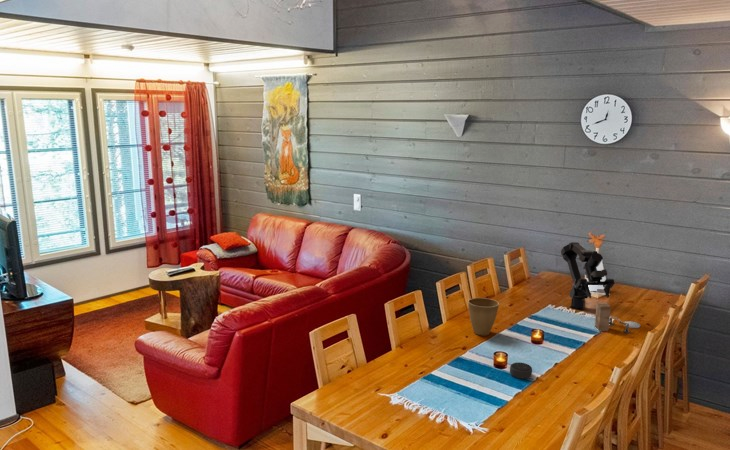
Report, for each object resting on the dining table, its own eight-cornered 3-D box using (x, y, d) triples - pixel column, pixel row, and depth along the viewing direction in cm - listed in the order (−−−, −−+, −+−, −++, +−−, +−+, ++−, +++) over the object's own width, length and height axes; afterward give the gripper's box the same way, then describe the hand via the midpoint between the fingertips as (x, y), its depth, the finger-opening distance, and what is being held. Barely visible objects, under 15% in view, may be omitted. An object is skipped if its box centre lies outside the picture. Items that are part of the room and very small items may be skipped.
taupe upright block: (594, 327, 303) (596, 303, 300) (604, 327, 303) (606, 303, 300) (598, 330, 298) (600, 306, 295) (608, 330, 298) (610, 306, 295)
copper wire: (606, 323, 308) (607, 315, 307) (611, 323, 309) (612, 314, 308) (625, 333, 295) (626, 324, 294) (631, 332, 296) (631, 324, 295)
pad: (620, 325, 306) (620, 323, 306) (626, 321, 312) (626, 320, 311) (636, 329, 300) (636, 327, 300) (642, 325, 306) (642, 324, 306)
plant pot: (497, 339, 285) (499, 307, 282) (466, 337, 287) (467, 305, 284) (497, 328, 299) (498, 298, 296) (467, 326, 302) (468, 296, 299)
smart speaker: (515, 368, 253) (515, 359, 252) (535, 374, 247) (535, 365, 246) (505, 375, 246) (506, 366, 245) (526, 381, 240) (526, 372, 240)
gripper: (579, 263, 307) (587, 289, 298) (614, 263, 308) (623, 289, 299) (572, 275, 316) (579, 300, 307) (606, 275, 317) (614, 300, 308)
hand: (599, 297), depth 305 cm, fingers open, 9 cm apart
